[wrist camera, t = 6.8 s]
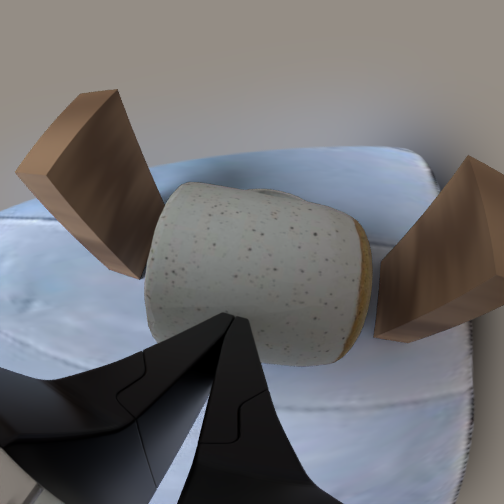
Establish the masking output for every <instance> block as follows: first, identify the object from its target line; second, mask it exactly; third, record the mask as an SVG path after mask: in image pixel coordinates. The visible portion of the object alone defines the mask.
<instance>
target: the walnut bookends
mask: <svg viewBox="0 0 504 504" xmlns="http://www.w3.org/2000/svg"><path fill="white" fill-rule="evenodd" d="M15 173H16V174H17V175H18V177H19V178H20V179H21V180H22V182H23V183H24V184H25V185H26V186H27V187H28V189H29V190H30V191H31V192H32V193H33V194H34V195H35V197H36V198H37V199H38V200H39V201H40V202H41V203H42V204H43V205H44V206H45V208H46V209H47V210H48V211H49V212H50V213H51V214H52V215H53V216H54V217H55V218H56V219H57V220H58V221H59V222H60V223H61V224H62V225H63V226H64V227H65V228H66V229H67V230H68V231H69V232H70V233H71V234H72V235H73V236H74V237H75V238H76V239H77V240H78V241H79V242H80V243H81V244H82V245H83V246H84V247H85V248H86V249H87V250H88V251H89V252H90V253H92V254H93V255H94V256H95V257H96V258H97V259H98V260H99V261H100V262H101V263H103V264H104V265H105V266H106V267H107V268H108V269H109V270H112V271H115V272H118V273H121V274H124V275H127V276H130V277H133V278H136V279H139V280H140V278H141V275H142V273H143V270H144V268H145V265H146V263H147V260H148V257H149V253H150V249H151V245H152V240H153V236H154V232H155V228H156V225H157V223H158V220H159V218H160V215H161V213H162V211H163V209H164V207H165V204H164V202H163V200H162V198H161V195H160V193H159V191H158V189H157V186H156V184H155V182H154V180H153V177H152V175H151V173H150V170H149V168H148V166H147V163H146V161H145V159H144V156H143V154H142V151H141V149H140V146H139V144H138V142H137V139H136V136H135V134H134V132H133V129H132V127H131V124H130V122H129V119H128V116H127V113H126V111H125V108H124V105H123V103H122V100H121V97H120V95H119V92H118V89H115V90H105V91H98V92H89V93H82V94H80V95H79V96H78V97H77V98H76V99H75V100H74V101H73V102H72V103H71V104H70V105H69V106H68V107H67V108H66V109H65V110H64V111H63V112H62V113H61V114H60V115H59V116H58V118H57V119H56V120H55V121H54V122H53V123H52V124H51V125H50V127H49V128H48V129H47V130H46V131H45V133H44V134H43V135H42V136H41V137H40V139H39V140H38V141H37V143H36V144H35V145H34V146H33V148H32V149H31V150H30V152H29V153H28V154H27V156H26V157H25V158H24V160H23V161H22V163H21V164H20V165H19V167H18V168H17V170H16V171H15ZM503 305H504V175H503V174H502V173H500V172H498V171H496V170H495V169H493V168H491V167H489V166H488V165H486V164H484V163H482V162H480V161H478V160H476V159H475V158H473V157H471V156H469V155H468V156H467V157H466V159H465V160H464V161H463V163H462V164H461V166H460V167H459V168H458V170H457V171H456V173H455V174H454V175H453V177H452V178H451V179H450V181H449V182H448V183H447V185H446V186H445V187H444V188H443V190H442V191H441V192H440V194H439V195H438V196H437V197H436V199H435V200H434V201H433V202H432V204H431V205H430V206H429V207H428V209H427V210H426V211H425V212H424V213H423V215H422V216H421V217H420V218H419V219H418V221H417V222H416V223H415V224H414V225H413V226H412V228H411V229H410V230H409V231H408V232H407V233H406V235H405V236H404V237H403V238H402V239H401V240H400V241H399V242H398V244H397V245H396V246H395V247H394V248H393V249H392V250H391V251H390V252H389V253H388V254H387V256H386V257H385V258H384V259H383V260H382V261H381V268H380V283H379V294H378V304H377V313H376V322H375V329H374V336H373V337H374V338H379V339H385V340H391V341H398V342H404V343H410V342H413V341H416V340H419V339H422V338H425V337H428V336H431V335H433V334H436V333H439V332H442V331H444V330H447V329H450V328H452V327H455V326H457V325H460V324H462V323H465V322H467V321H470V320H472V319H474V318H477V317H479V316H481V315H484V314H486V313H488V312H490V311H492V310H494V309H496V308H498V307H501V306H503Z"/></svg>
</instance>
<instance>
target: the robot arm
mask: <svg viewBox="0 0 504 504" xmlns="http://www.w3.org/2000/svg"><path fill="white" fill-rule="evenodd" d="M209 394H210V395H209ZM208 396H209V399H208V403H207V407H206V411H205V415H204V419H203V423H202V428H201V432H200V436H199V440H198V445H197V448H196V452H195V456H194V459H193V463H192V466H191V469H190V471H189V474H188V477H187V479H186V482H185V484H184V487H183V490H182V492H181V495H180V497H179V500H178V503H177V504H343V503H342V502H340V501H338V500H337V499H335V498H334V497H332V496H331V495H329V494H328V493H326V492H325V491H323V490H322V489H320V488H319V487H318V486H317V485H316V484H315V483H314V482H313V481H312V480H311V479H310V478H309V476H308V475H307V474H306V472H305V470H304V469H303V467H302V465H301V463H300V461H299V459H298V457H297V455H296V453H295V452H294V450H293V448H292V446H291V444H290V442H289V440H288V438H287V436H286V434H285V432H284V430H283V428H282V425H281V423H280V421H279V419H278V416H277V414H276V411H275V408H274V405H273V402H272V399H271V396H270V392H269V391H268V386H267V382H266V379H265V375H264V372H263V369H262V365H261V361H260V358H259V354H258V351H257V347H256V344H255V340H254V337H253V333H252V329H251V326H250V322H249V319H247V318H243V317H239V316H236V317H235V316H234V315H232V314H228V313H224V312H221V313H219V314H217V315H215V316H213V317H211V318H209V319H207V320H205V321H203V322H201V323H199V324H197V325H195V326H193V327H191V328H189V329H187V330H185V331H183V332H181V333H178V334H176V335H174V336H172V337H170V338H168V339H166V340H164V341H162V342H160V343H157V344H155V345H153V346H151V347H149V348H147V349H144V350H143V352H142V351H140V352H138V353H135V354H133V355H131V356H129V357H126V358H124V359H121V360H119V361H116V362H114V363H111V364H108V365H105V366H102V367H99V368H96V369H92V370H89V371H86V372H82V373H79V374H75V375H72V376H68V377H65V378H60V379H55V380H41V379H36V378H32V377H28V376H25V375H22V374H19V373H16V372H13V371H10V370H7V369H4V368H1V367H0V504H148V503H149V502H150V500H151V498H152V497H153V495H154V493H155V492H156V490H157V489H156V488H158V486H159V485H160V483H161V481H162V479H163V478H164V476H165V474H166V472H167V471H168V469H169V467H170V465H171V464H172V462H173V460H174V458H175V456H176V455H177V453H178V451H179V449H180V448H181V446H182V444H183V442H184V440H185V439H186V437H187V435H188V433H189V431H190V429H191V428H192V426H193V424H194V422H195V420H196V418H197V417H198V415H199V413H200V411H201V409H202V407H203V405H204V404H205V402H206V400H207V398H208Z"/></svg>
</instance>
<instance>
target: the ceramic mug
mask: <svg viewBox="0 0 504 504" xmlns="http://www.w3.org/2000/svg"><path fill="white" fill-rule="evenodd" d="M371 289H372V256H371V249H370V245H369V241H368V239H367V236H366V233H365V231H364V229H363V228H362V226H361V225H360V223H359V222H358V221H357V220H355V219H354V218H352V217H351V216H349V215H347V214H345V213H343V212H341V211H338V210H336V209H333V208H331V207H328V206H324V205H320V204H316V203H311V202H307V201H305V200H303V199H301V198H299V197H297V196H294V195H292V194H289V193H285V192H281V191H277V190H271V189H248V190H242V189H236V188H230V187H224V186H219V185H212V184H206V183H199V182H188V183H185V184H182V185H181V186H179V187H178V188H177V189H176V190H175V192H174V193H173V194H172V195H171V196H170V198H169V199H168V201H167V203H166V205H165V207H164V209H163V211H162V213H161V215H160V218H159V220H158V223H157V225H156V228H155V232H154V236H153V240H152V245H151V249H150V253H149V257H148V261H147V268H146V275H145V287H144V296H145V306H146V313H147V321H148V326H149V329H150V331H151V333H152V336H153V337H154V339H155V340H156V341H157V343H160V342H162V341H164V340H166V339H168V338H170V337H172V336H174V335H176V334H178V333H181V332H183V331H185V330H187V329H189V328H191V327H193V326H195V325H197V324H199V323H201V322H203V321H205V320H207V319H209V318H211V317H213V316H215V315H217V314H219V313H221V312H224V313H228V314H232V315H234V316H235V317H236V316H239V317H243V318H247V319H249V322H250V326H251V329H252V333H253V337H254V340H255V344H256V347H257V351H258V354H259V358H260V361H261V363H267V364H277V365H287V366H298V367H306V366H317V365H326V364H330V363H334V362H336V361H337V360H339V359H341V358H342V357H343V356H344V355H345V354H346V353H347V352H348V351H349V350H350V349H351V348H352V346H353V345H354V343H355V341H356V340H357V338H358V336H359V335H360V332H361V330H362V328H363V325H364V322H365V318H366V315H367V311H368V307H369V302H370V297H371Z"/></svg>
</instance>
